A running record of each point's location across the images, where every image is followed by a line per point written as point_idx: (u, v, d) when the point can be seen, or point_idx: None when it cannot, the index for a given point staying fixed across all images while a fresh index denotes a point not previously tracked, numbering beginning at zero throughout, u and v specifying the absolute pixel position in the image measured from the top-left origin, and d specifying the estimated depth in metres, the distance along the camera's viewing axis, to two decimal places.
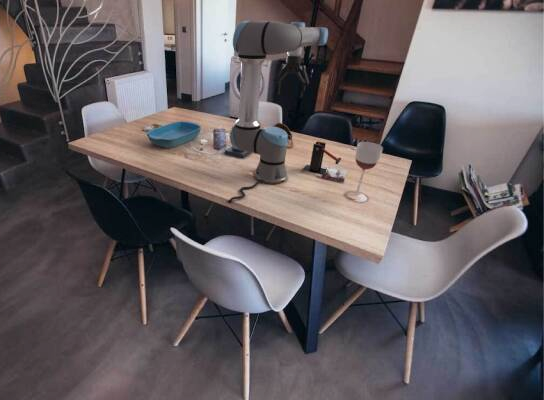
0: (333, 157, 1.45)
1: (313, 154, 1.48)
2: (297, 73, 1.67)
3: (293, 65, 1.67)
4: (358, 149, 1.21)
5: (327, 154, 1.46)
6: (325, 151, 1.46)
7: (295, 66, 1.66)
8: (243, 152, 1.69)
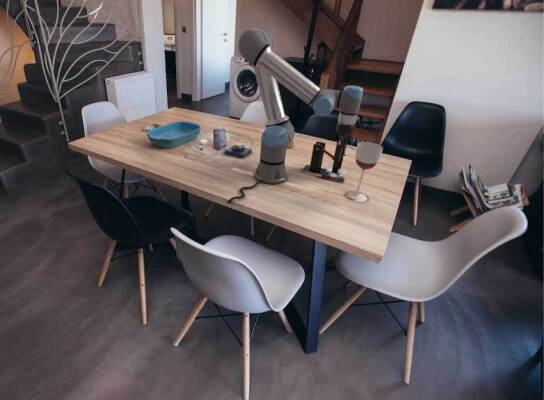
0: (333, 157, 1.45)
1: (313, 154, 1.48)
2: None
3: None
4: (358, 149, 1.21)
5: (327, 154, 1.46)
6: (325, 151, 1.46)
7: None
8: (243, 152, 1.69)
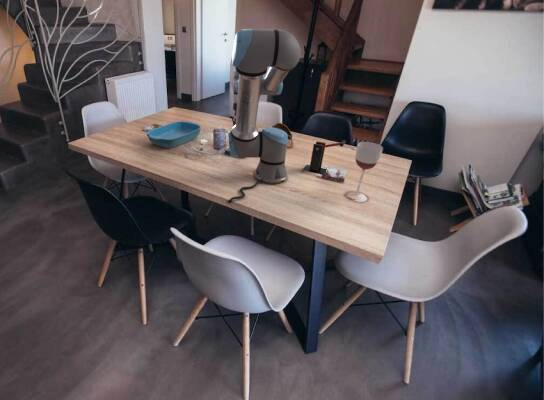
0: (336, 144, 1.42)
1: (313, 154, 1.48)
2: None
3: None
4: (358, 149, 1.21)
5: (329, 146, 1.44)
6: (326, 145, 1.45)
7: None
8: None
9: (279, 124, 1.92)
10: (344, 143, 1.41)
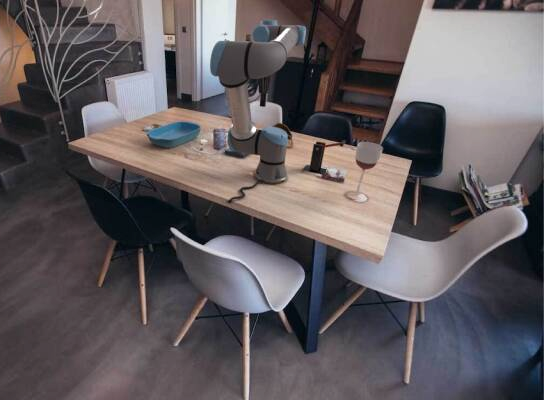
0: (336, 144, 1.42)
1: (313, 154, 1.48)
2: None
3: None
4: (358, 149, 1.21)
5: (329, 146, 1.44)
6: (326, 145, 1.45)
7: None
8: None
9: (279, 124, 1.92)
10: (344, 143, 1.41)
